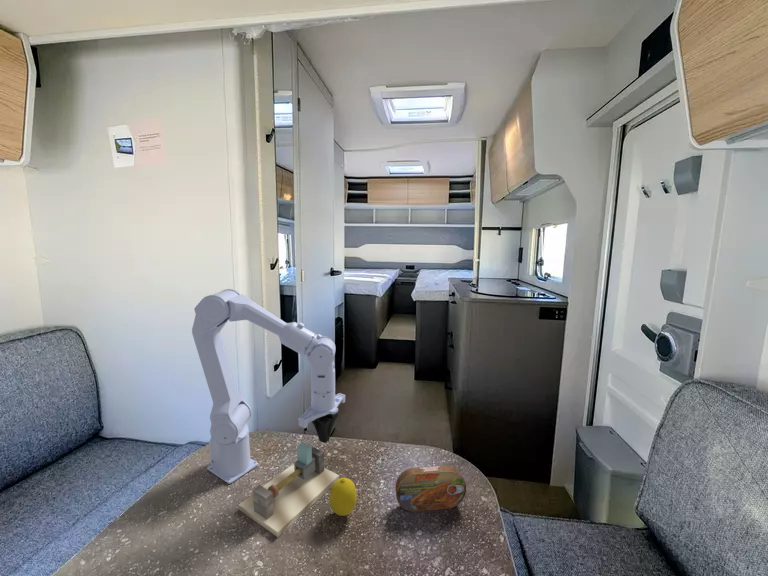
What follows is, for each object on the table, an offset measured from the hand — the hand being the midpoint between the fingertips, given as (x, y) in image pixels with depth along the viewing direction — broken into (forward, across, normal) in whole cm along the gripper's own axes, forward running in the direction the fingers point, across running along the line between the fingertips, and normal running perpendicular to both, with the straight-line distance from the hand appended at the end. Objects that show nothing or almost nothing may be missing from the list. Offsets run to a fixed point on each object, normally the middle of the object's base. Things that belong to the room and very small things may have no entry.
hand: (324, 440), depth 81 cm
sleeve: (+4, -6, 0) cm, 8 cm away
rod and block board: (+7, -10, 0) cm, 13 cm away
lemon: (+7, -8, -13) cm, 17 cm away
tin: (+7, +3, -27) cm, 28 cm away
